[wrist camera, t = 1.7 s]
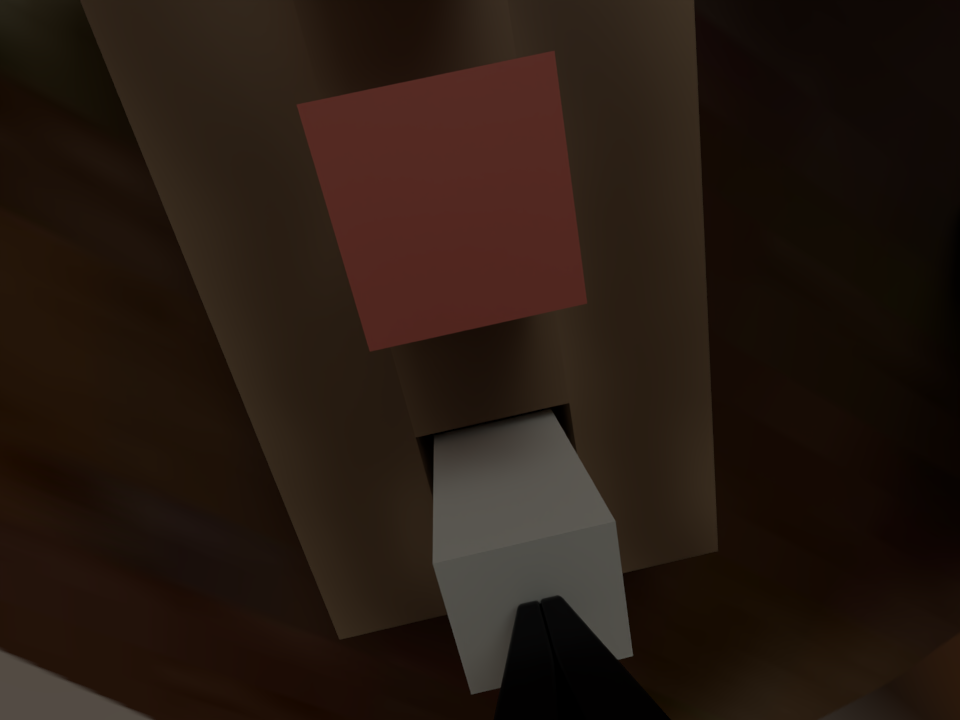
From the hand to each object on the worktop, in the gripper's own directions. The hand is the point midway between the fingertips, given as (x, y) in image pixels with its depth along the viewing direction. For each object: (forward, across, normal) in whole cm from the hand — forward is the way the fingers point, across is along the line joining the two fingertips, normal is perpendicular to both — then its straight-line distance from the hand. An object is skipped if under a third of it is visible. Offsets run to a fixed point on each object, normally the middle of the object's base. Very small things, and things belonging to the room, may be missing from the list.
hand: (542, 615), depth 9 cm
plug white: (+5, 0, 0) cm, 5 cm away
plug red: (+5, 0, -8) cm, 9 cm away
